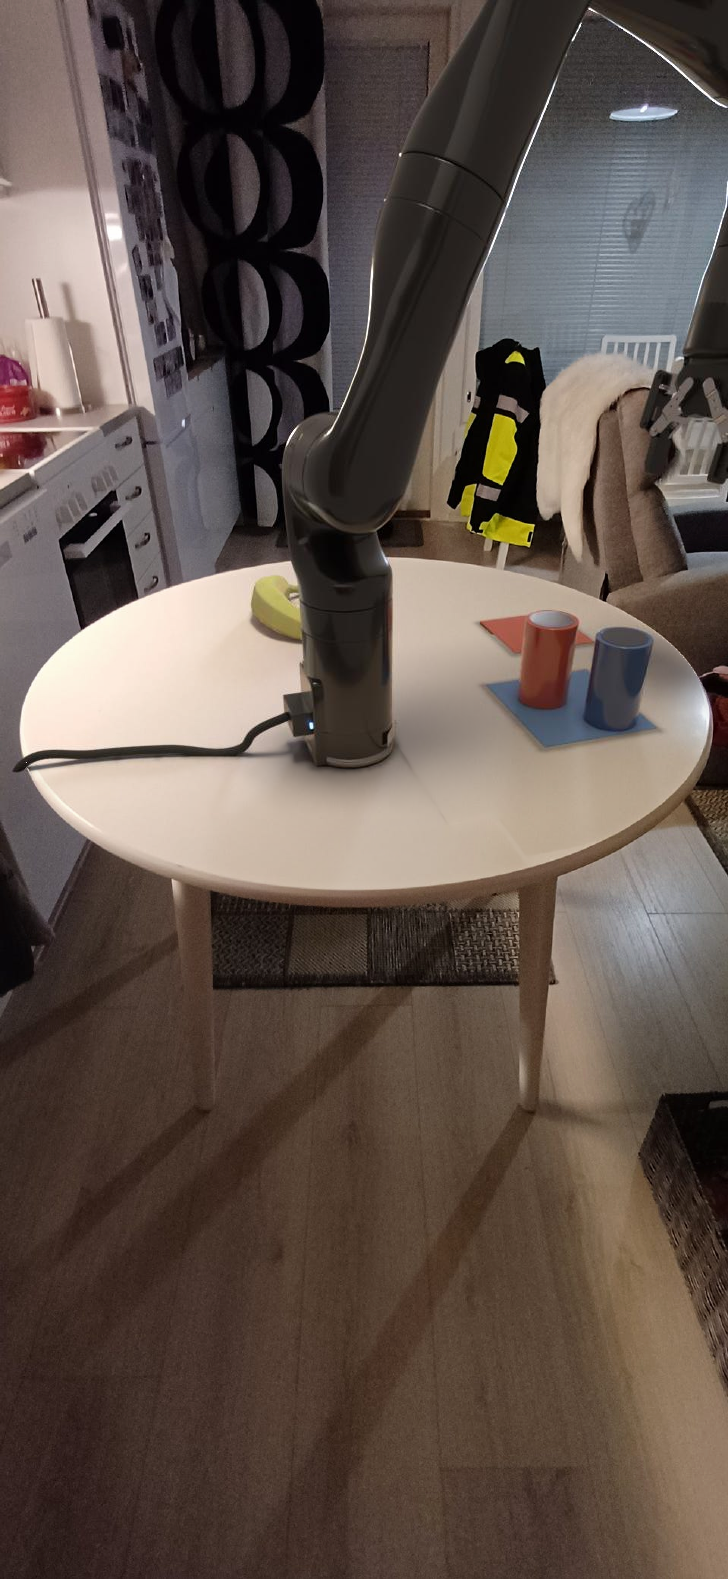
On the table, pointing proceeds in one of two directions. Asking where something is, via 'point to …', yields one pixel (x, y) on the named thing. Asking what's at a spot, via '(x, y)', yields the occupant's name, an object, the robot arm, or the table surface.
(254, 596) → the banana
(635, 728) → the blue mat
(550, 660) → the red cup
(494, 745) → the table surface
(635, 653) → the blue cup
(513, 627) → the red mat
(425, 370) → the robot arm
